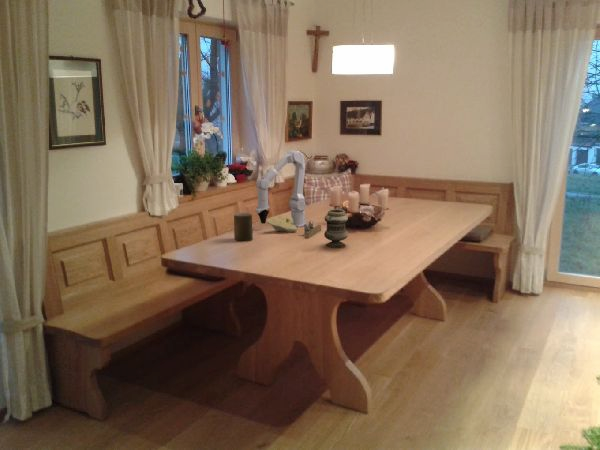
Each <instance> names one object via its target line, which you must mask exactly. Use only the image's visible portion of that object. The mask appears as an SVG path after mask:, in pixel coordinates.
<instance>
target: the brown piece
mask: <svg viewBox="0 0 600 450" xmlns="http://www.w3.org/2000/svg"><path fill="white" fill-rule="evenodd" d="M303 229H304V230H303V231H304V232H303V233H304V235H303V236H304V238H305V239H311V237H313V236H315V235H316V234H318V233H320V232H321V231H322V225H320V224H317V225H316V226H314V221H311V220H310V221H308V223H307V224H304V228H303Z"/></svg>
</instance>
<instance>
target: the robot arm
mask: <svg viewBox="0 0 600 450" xmlns="http://www.w3.org/2000/svg"><path fill="white" fill-rule="evenodd" d="M304 157H305V155H304V154H303V153H302V152H301V151H300V150H292V149H289V150H286V152H285V153H283V155H282V157H281V158H280V159H279V160H278V162H277V163H276V164H275V165H274V167H273V168H269V169H267V170H266V172H265V173H264V174H263V175H261V176H260V177H259V178H258V179H257V180H256V182H255V184H254V185H255V187H256V189H257V206H256V207H255V208H256V209H255V214H257V215H258V217H259V220H260V221H259V222H260V224H267V217H268V215H269V212H270V209H271V206H270V205H269V197H268V196H269V193H268V192H269V191H268V189H269V187H270V185H271V183H272V182H273V181H274V179H275V178H276V177H278V172H279V171H281V170H283V168H284V167H285V166H286V165H288V164H293V165H294V167H295V170H294V171H295V172H294V173H295V174H294V184H293V185H294V186H293V193H292V195H290V199H289V202H288V206H289V208H290V210H291V211H290V216H291V217H292V218H293V222H294V223H293V225H295V226H296V227H297V228H298V227H299V228H302V227H303V226H304V224H308V223H307V222H306V211H305V209H306V206H307V204H306V201H305V200H306V197H305V196H304V186H305V185H304V183H305V173H306V161H305V159H304Z"/></svg>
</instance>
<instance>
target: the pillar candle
mask: <svg viewBox="0 0 600 450" xmlns="http://www.w3.org/2000/svg"><path fill="white" fill-rule="evenodd" d="M233 226H234V227H233V234H234V235H233V236H234V241H236V242H240V243H241V242H250V241H253V239H254V238H253V236H254V235H253V233H254V232H253V214H252V213H250V212H238V213H234V214H233Z"/></svg>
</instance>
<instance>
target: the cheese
mask: <svg viewBox="0 0 600 450" xmlns="http://www.w3.org/2000/svg"><path fill="white" fill-rule="evenodd" d="M293 223H294V222H293V218H292V217H291V214H290V215H289V214H286V215H284V216H283V217H276V216H272V217H269V218H268V219H266V224H268V225H270V226H271V227H272V228H273V229H274V231H275V232H276V233H277V232H286V233H296V232H298V227H297V226H295V225H293Z"/></svg>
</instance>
